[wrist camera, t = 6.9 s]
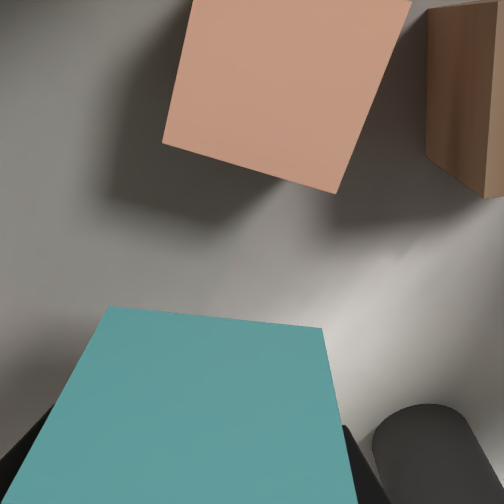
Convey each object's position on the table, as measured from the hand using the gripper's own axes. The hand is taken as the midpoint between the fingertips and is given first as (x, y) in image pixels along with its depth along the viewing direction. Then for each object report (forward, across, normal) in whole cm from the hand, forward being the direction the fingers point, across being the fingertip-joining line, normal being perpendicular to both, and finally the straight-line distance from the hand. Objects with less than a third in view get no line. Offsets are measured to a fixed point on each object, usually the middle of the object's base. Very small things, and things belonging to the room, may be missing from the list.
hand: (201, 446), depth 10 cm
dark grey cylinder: (+10, -11, +10) cm, 18 cm away
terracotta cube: (+10, -1, -8) cm, 13 cm away
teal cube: (+2, 0, 0) cm, 2 cm away
